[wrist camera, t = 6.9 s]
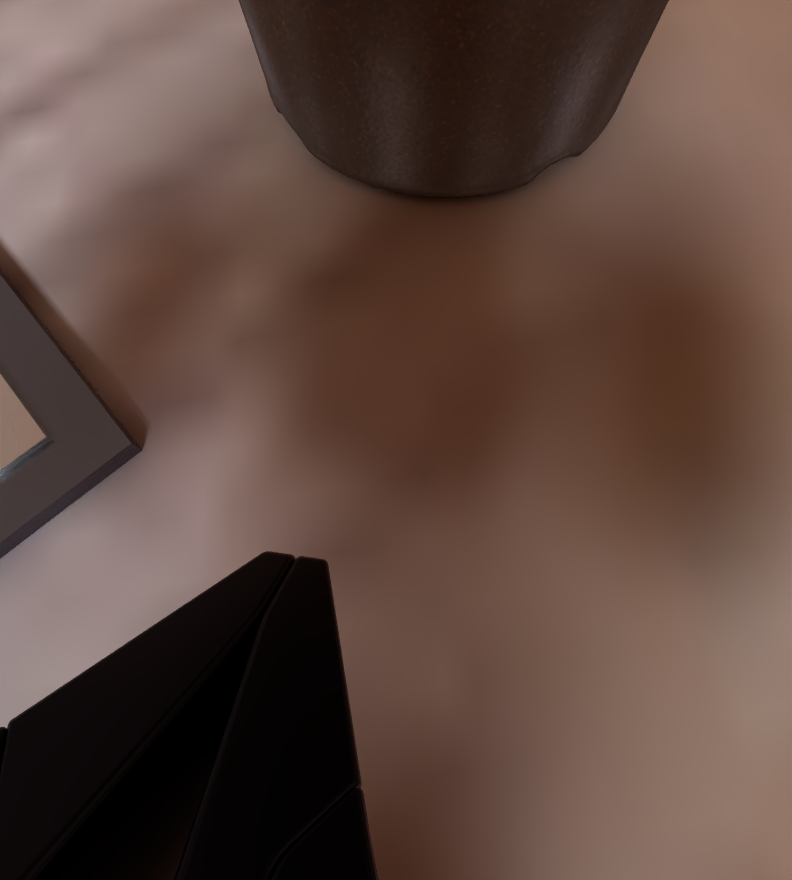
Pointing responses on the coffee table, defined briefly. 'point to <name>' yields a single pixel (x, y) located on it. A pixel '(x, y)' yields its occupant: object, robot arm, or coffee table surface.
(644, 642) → the coffee table surface
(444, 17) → the plant pot
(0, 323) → the panel
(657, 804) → the coffee table surface
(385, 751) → the coffee table surface
